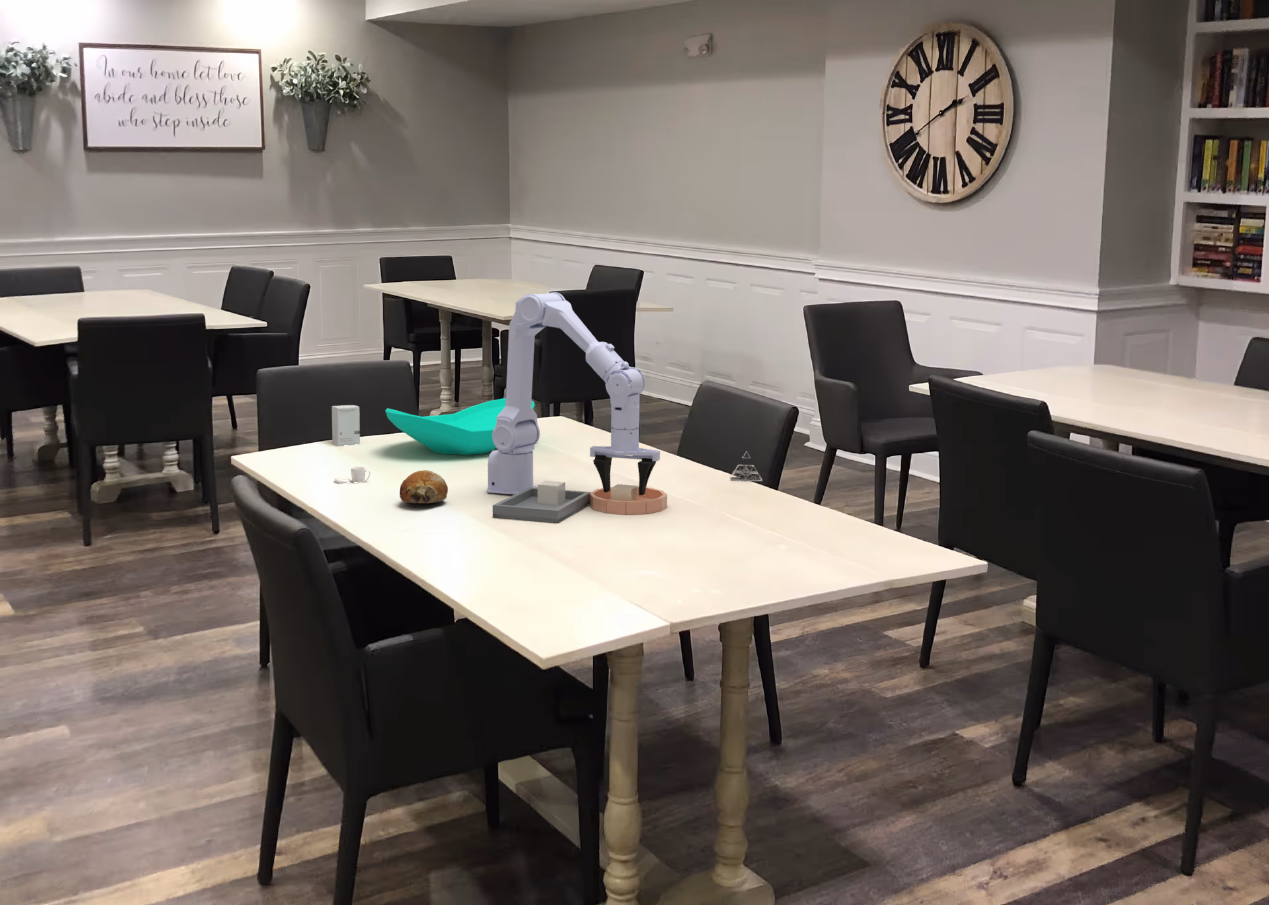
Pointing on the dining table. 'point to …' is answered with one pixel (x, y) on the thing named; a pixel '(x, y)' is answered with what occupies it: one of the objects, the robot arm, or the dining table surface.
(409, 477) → the bread roll
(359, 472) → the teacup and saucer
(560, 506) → the parts tray
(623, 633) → the dining table surface
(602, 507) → the bowl
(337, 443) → the skincare box
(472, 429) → the table top decor
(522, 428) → the robot arm
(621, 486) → the cream matte cube
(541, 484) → the greyish beige cube
